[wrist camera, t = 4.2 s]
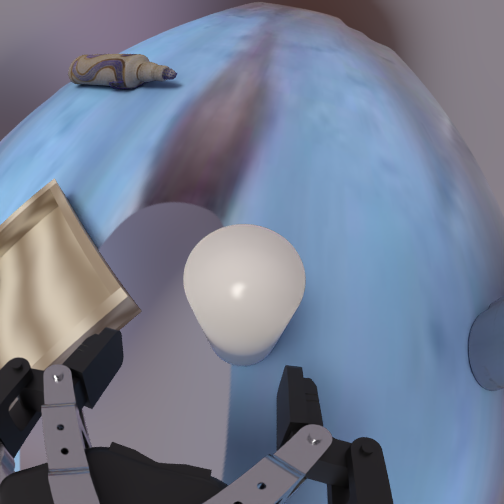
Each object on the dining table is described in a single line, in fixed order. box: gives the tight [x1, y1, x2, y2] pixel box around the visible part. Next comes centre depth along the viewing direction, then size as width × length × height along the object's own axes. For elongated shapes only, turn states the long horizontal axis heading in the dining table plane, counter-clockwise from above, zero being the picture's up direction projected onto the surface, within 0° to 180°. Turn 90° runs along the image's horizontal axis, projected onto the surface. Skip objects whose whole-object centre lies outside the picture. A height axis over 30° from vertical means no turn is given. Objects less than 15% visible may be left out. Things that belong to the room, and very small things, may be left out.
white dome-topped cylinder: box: [183, 224, 305, 366], centre depth 17 cm, size 5×5×11 cm
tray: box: [0, 179, 141, 411], centre depth 21 cm, size 18×18×4 cm
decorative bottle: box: [68, 54, 177, 89], centre depth 39 cm, size 26×8×7 cm, turn 65°
